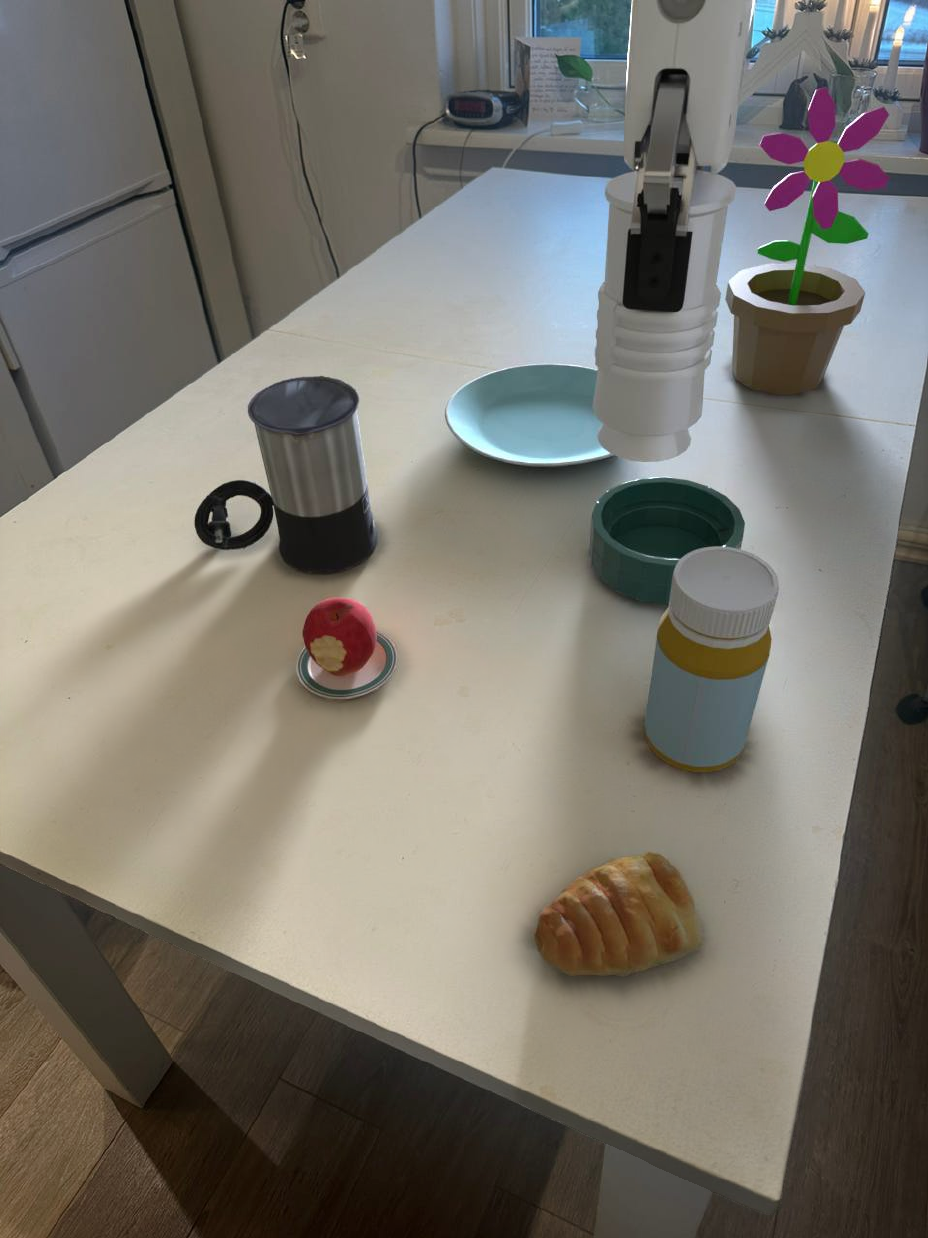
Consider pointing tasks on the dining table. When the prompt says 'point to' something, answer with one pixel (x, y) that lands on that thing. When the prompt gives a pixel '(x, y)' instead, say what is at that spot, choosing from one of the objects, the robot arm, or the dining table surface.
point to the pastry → (620, 919)
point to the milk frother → (303, 479)
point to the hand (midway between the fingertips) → (660, 280)
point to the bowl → (657, 532)
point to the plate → (529, 415)
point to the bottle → (710, 658)
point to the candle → (657, 332)
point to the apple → (344, 651)
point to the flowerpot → (803, 261)
